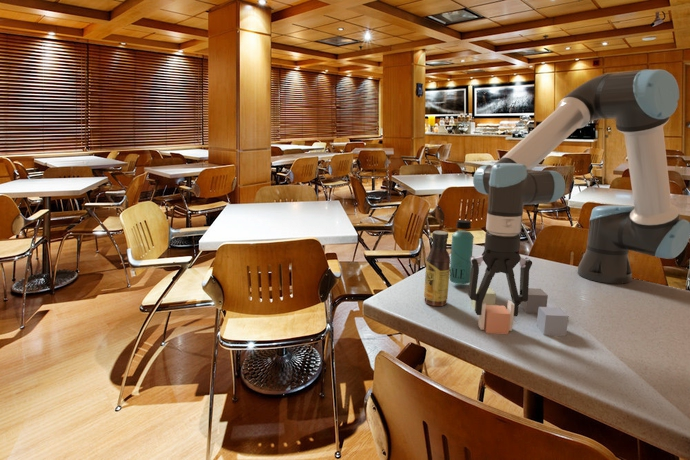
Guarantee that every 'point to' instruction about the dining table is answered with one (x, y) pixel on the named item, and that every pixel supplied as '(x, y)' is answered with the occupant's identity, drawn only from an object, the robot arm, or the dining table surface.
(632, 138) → the robot arm
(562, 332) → the cube slate
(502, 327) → the cube terracotta
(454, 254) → the beverage bottle
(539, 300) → the cube charcoal
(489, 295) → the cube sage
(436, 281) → the sauce bottle
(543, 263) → the dining table surface
